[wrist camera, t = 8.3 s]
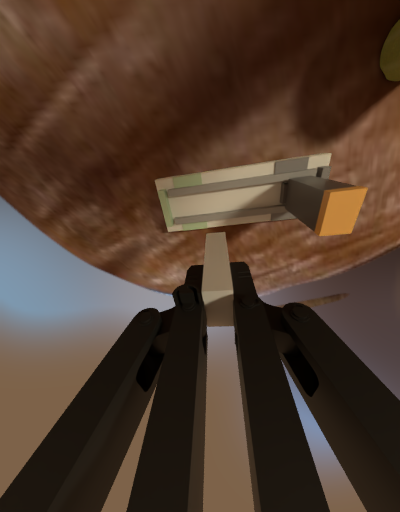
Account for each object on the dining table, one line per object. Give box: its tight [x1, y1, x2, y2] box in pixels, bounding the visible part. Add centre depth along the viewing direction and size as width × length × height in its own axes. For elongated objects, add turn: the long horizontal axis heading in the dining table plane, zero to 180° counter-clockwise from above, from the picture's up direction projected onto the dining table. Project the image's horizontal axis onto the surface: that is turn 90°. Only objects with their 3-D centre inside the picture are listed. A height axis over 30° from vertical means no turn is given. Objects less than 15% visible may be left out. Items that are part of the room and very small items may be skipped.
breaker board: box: [155, 153, 332, 232], centre depth 27 cm, size 26×9×4 cm, turn 98°
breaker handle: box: [280, 176, 368, 236], centre depth 21 cm, size 4×4×11 cm
